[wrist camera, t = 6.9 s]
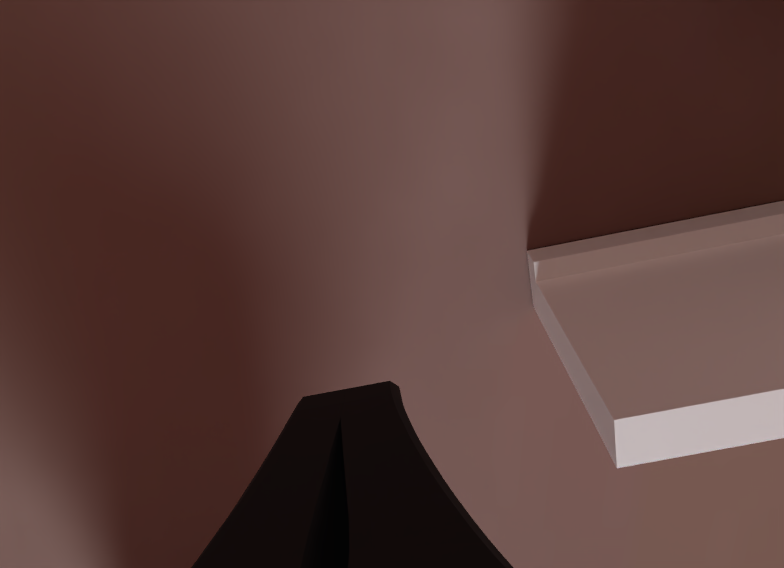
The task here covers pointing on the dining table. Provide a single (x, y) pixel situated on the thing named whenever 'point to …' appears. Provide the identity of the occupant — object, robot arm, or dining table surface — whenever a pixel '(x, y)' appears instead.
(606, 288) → the wall shelf
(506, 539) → the dining table surface
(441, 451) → the dining table surface
